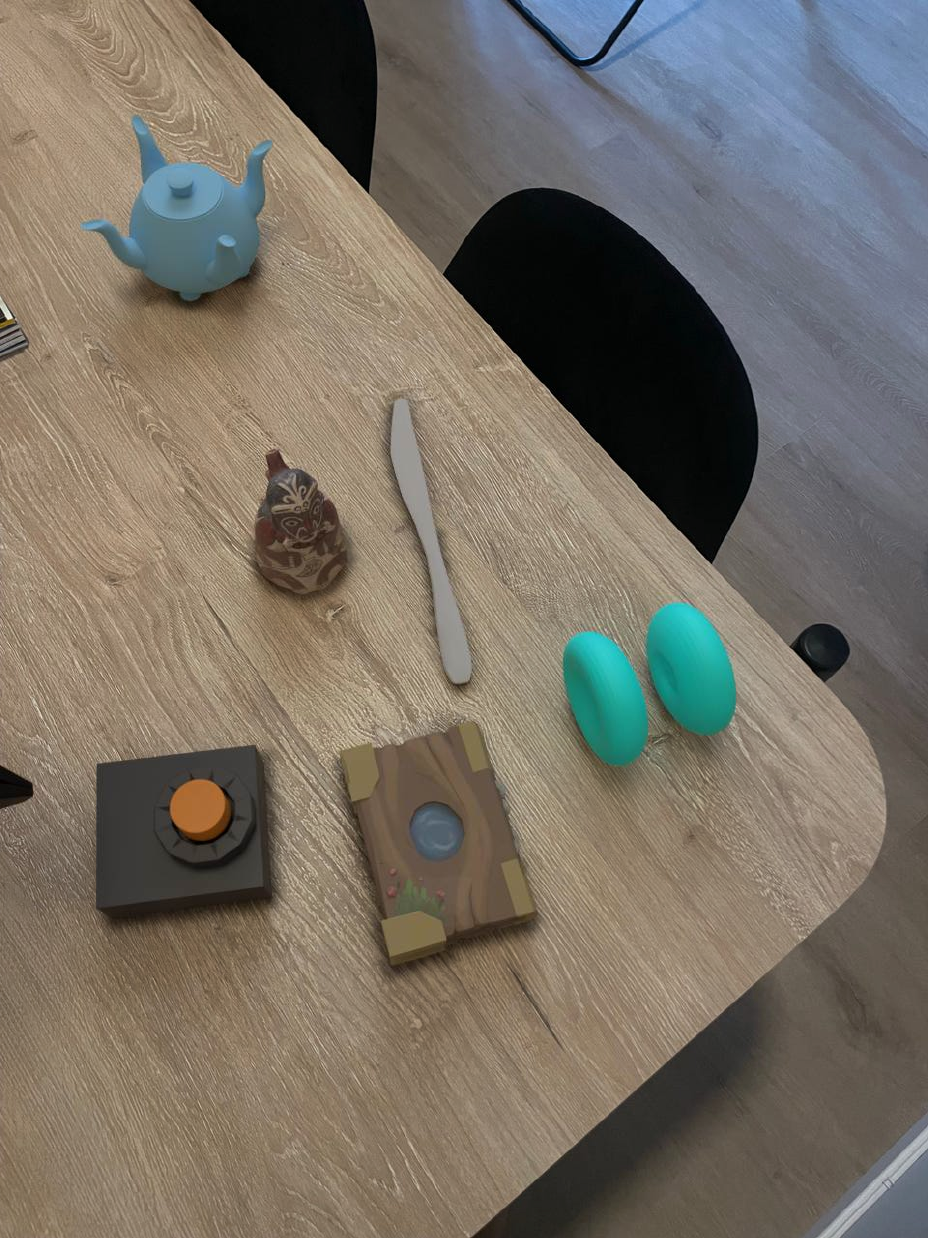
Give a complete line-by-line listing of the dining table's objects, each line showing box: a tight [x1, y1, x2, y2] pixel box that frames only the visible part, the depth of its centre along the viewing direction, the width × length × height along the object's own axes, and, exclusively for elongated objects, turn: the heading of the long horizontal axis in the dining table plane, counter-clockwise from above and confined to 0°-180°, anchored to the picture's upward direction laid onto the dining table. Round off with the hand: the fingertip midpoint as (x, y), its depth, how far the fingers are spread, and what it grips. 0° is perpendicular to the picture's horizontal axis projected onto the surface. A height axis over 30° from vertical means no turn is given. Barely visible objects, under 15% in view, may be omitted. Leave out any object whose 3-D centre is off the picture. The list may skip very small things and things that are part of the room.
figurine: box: [253, 447, 348, 595], centre depth 82 cm, size 7×7×12 cm
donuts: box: [562, 602, 737, 767], centre depth 78 cm, size 10×10×10 cm
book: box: [339, 720, 539, 967], centre depth 75 cm, size 15×11×5 cm
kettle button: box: [170, 779, 231, 841], centre depth 71 cm, size 4×4×2 cm
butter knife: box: [389, 397, 473, 685], centre depth 88 cm, size 1×27×3 cm
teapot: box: [80, 114, 274, 302], centre depth 95 cm, size 13×13×10 cm
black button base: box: [95, 744, 273, 920], centre depth 74 cm, size 11×10×6 cm
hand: (29, 792), depth 64 cm, fingers closed
